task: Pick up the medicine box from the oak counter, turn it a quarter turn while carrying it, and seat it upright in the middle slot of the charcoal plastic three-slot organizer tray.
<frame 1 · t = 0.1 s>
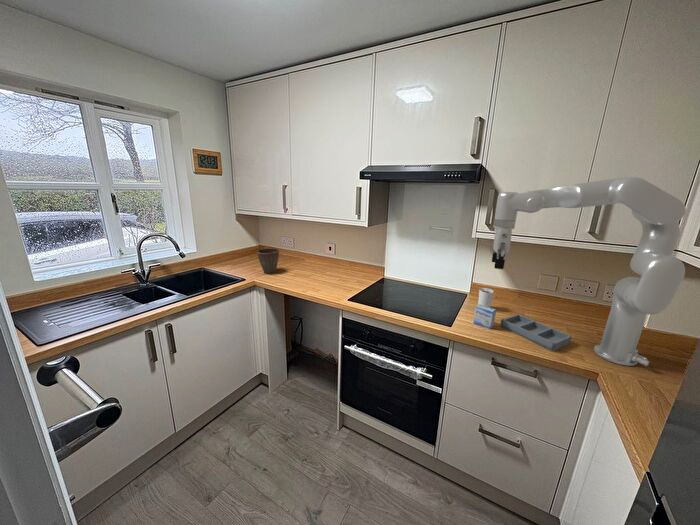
hand: (497, 265, 117), 31 cm above the worktop, tool pointing down, fingers open, 9 cm apart
plant pot: (269, 272, 203), on the worktop
medicine box: (483, 325, 132), on the worktop
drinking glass: (483, 308, 150), on the worktop
organizer tray: (533, 334, 124), on the worktop
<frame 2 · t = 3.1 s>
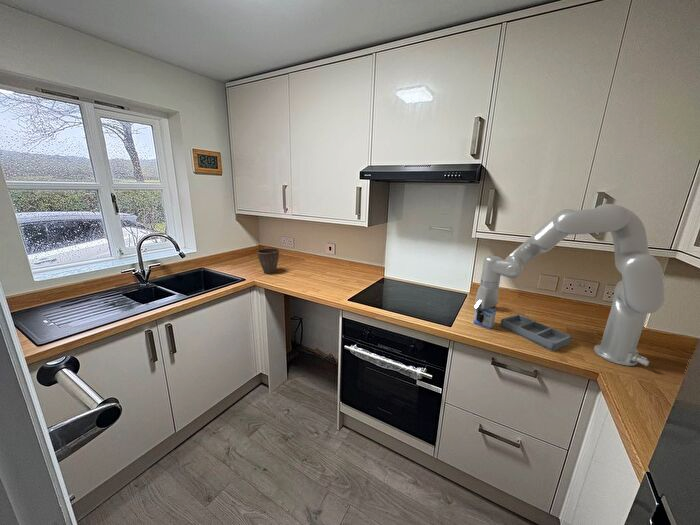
hand: (483, 319, 132), 3 cm above the worktop, tool pointing down, fingers closed on medicine box, 5 cm apart
medicine box: (483, 325, 132), on the worktop, touching gripper
everything else where it was.
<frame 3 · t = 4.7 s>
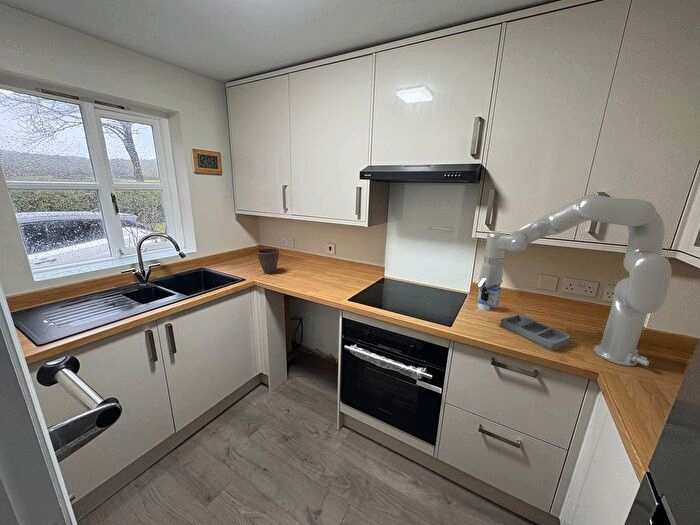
hand: (488, 298, 128), 13 cm above the worktop, tool pointing down, fingers closed on medicine box, 5 cm apart
medicine box: (487, 304, 129), point 10 cm above the worktop, touching gripper
everything else where it was.
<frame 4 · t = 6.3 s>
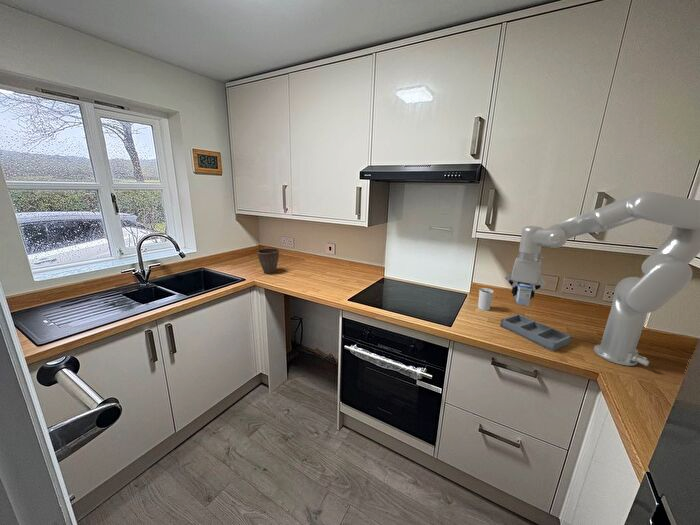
hand: (522, 296, 122), 17 cm above the worktop, tool pointing down, fingers closed on medicine box, 5 cm apart
medicine box: (521, 302, 123), point 14 cm above the worktop, touching gripper
everything else where it was.
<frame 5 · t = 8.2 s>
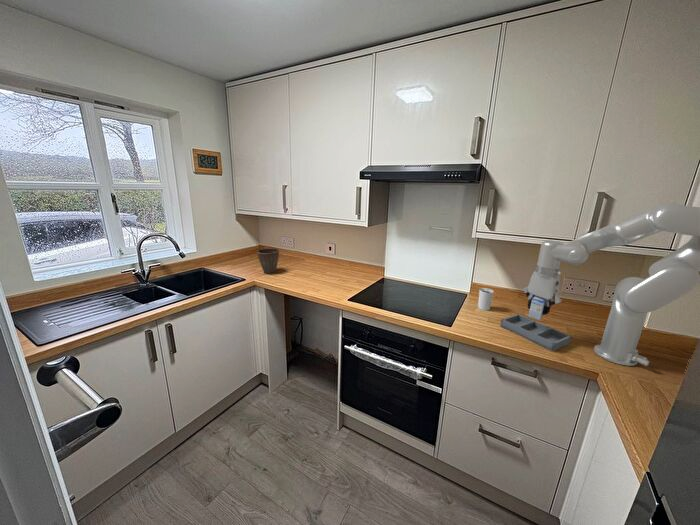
hand: (537, 310, 121), 11 cm above the worktop, tool pointing down, fingers closed on medicine box, 5 cm apart
medicine box: (536, 316, 122), point 9 cm above the worktop, touching gripper
everything else where it was.
when the fingers open (5 cm above the worktop, at t = 9.7 s): medicine box drops 1 cm, resting on organizer tray.
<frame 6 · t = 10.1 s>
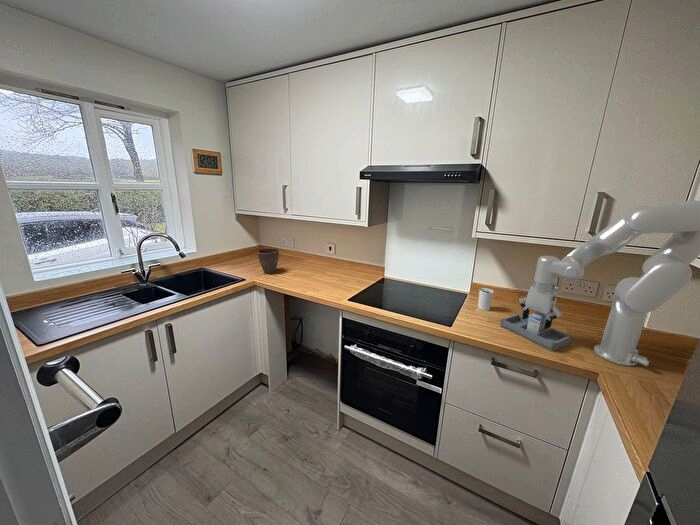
hand: (535, 322, 123), 6 cm above the worktop, tool pointing down, fingers open, 8 cm apart
medicine box: (534, 333, 124), point 1 cm above the worktop, touching organizer tray
everything else where it was.
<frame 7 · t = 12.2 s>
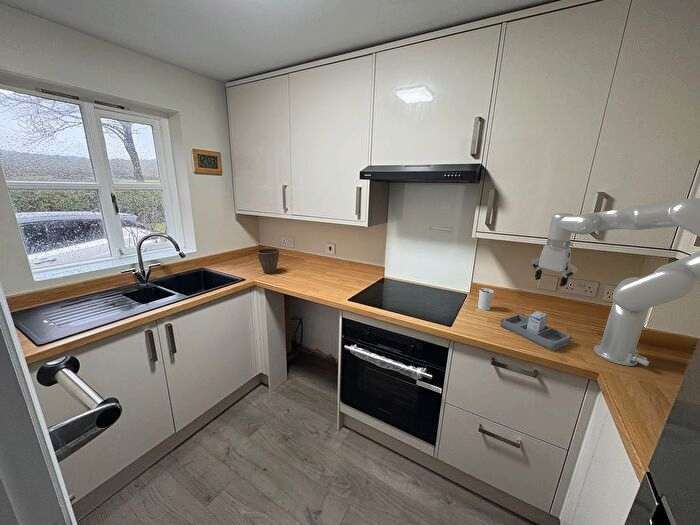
hand: (549, 282, 122), 23 cm above the worktop, tool pointing down, fingers open, 9 cm apart
nothing on the worktop moved.
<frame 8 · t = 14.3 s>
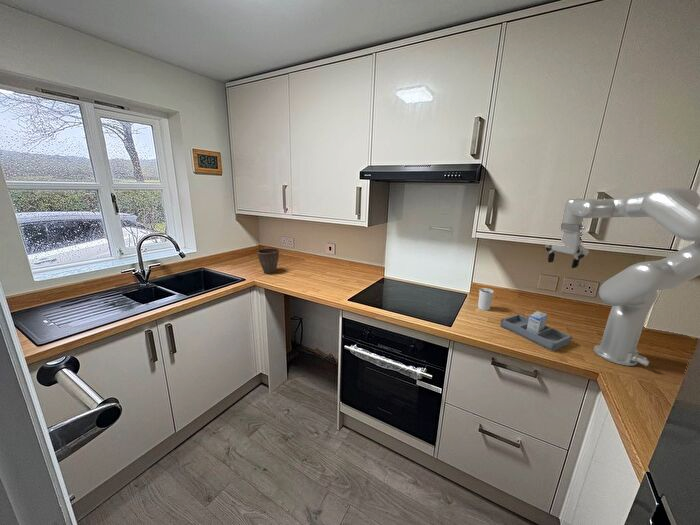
hand: (561, 264, 129), 28 cm above the worktop, tool pointing down, fingers open, 9 cm apart
nothing on the worktop moved.
at the end: medicine box 0.4 cm off-centre on the organizer tray, point 0.8 cm above the organizer tray's base; medicine box tilted 0°; the gripper is holding nothing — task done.
